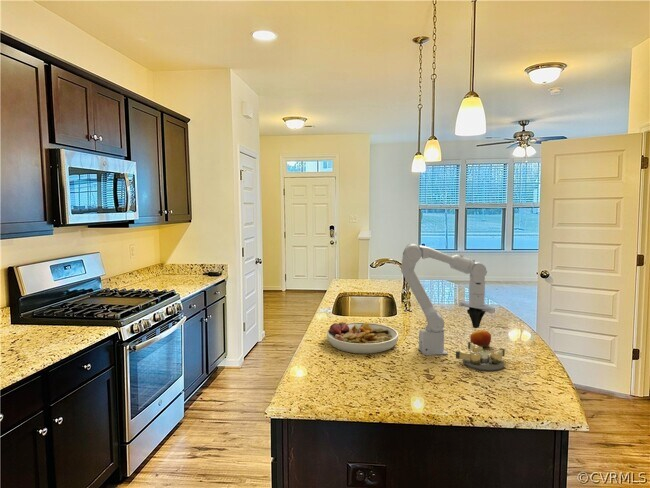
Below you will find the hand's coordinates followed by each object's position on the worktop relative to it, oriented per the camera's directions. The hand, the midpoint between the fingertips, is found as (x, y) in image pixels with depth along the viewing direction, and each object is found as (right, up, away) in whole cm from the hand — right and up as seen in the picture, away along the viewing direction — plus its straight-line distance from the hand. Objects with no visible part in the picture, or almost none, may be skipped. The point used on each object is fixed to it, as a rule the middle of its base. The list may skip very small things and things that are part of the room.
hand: (476, 327), depth 161 cm
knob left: (-7, -10, -11) cm, 16 cm away
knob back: (-2, -9, -3) cm, 10 cm away
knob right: (+5, -10, -10) cm, 15 cm away
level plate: (-1, -11, -10) cm, 15 cm away
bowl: (-43, -10, +15) cm, 47 cm away
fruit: (+5, -10, +9) cm, 15 cm away
